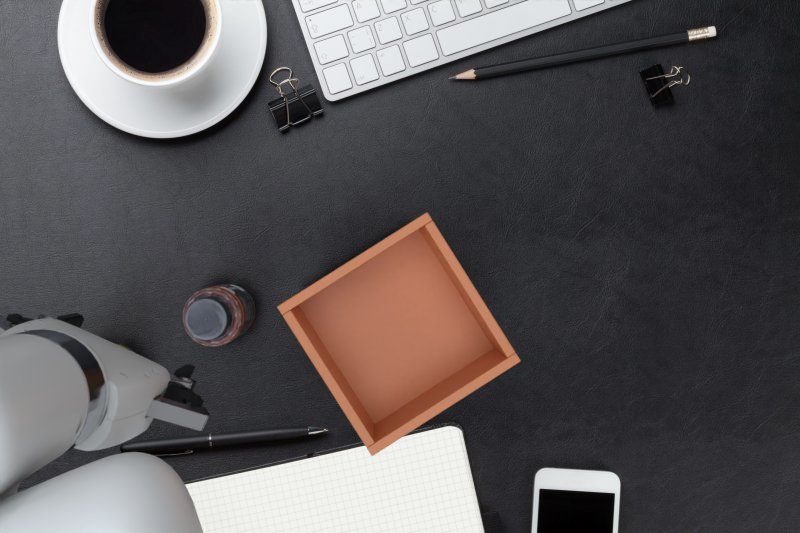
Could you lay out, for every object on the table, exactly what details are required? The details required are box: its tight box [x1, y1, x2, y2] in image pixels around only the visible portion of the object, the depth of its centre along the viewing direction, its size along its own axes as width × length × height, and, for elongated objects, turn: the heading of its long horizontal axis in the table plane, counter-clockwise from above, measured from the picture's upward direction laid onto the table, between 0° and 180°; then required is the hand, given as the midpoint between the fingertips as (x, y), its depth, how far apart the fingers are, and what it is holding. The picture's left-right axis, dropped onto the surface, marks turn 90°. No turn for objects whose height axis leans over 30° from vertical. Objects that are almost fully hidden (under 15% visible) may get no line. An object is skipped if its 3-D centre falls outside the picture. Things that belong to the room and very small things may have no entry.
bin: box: [276, 211, 522, 457], centre depth 56 cm, size 12×12×7 cm
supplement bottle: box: [182, 283, 256, 348], centre depth 77 cm, size 6×6×11 cm
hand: (129, 357), depth 61 cm, fingers open, 9 cm apart
